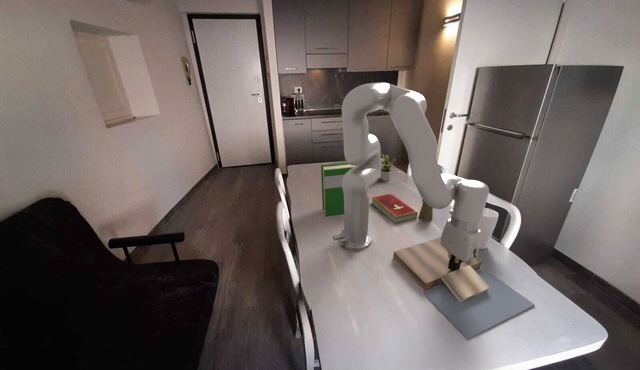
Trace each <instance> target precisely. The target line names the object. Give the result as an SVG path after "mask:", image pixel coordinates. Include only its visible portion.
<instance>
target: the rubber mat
mask: <svg viewBox="0 0 640 370" xmlns="http://www.w3.org/2000/svg"><path fill="white" fill-rule="evenodd" d="M475 272H476V273H477V274H478V275H479V276H480V277H481V278H482V279H483V280H484V281H485V283H486V284H487V285H488V286H489V287H490V288H489V289H488V290H487V291H485V292H483V293H481V294H478V295H476V296H474V297H471V298H469V299H467V300H465V301H462V302H459V301H458V299H457V298H456V297H455V296H454V294H453V293H452V292H451V291H450V289H449V288H448V287H447V285H446V284H445V283H442V284H439V285H437V286H434V287H432V288H429V289H427V290H423V292H422V293H423V295H424V296H426V297H427V299H428V300H430V302H431V303H432V304H433V305H434V306H435V307H436V308H437V309H438V310H439V311H440V312H441V313H442V314H443V316H444V317H446V319H447V320H448V321H449V322H450V323H451V324H452V325H453V326H454V327H455V328H456V329H457V330H458V332H459V333H461V335H463V337H464V338H465V339H466V340H469V339H472V338H473V337H475V336H477V335H480V334H481V333H483V332H486V331H487V330H489V329H491V328H493V327H495V326H497V325H499V324H501V323H504V322H505V321H507V320H509V319H511V318H513V317H514V316H517V315H519V314H521V313H523V312H525V311H527V310H529V309H530V308H533V307H535V304H534V303H533V301H532V302H531V301H530V300H529V299H528V298H527V297H525V296H524V295H522V294H521V293H520V292H518V291H516V289H513V288H512V287H511V286H510V285H508V284H507V283H505V282H504V281H502V280H501V279H500V278H499V277H497V276H495V274H493V273H492V272H490V271H488V269H486V268H484V267H483V268H480V269H478V270H475Z"/></svg>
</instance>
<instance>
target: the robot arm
mask: <svg viewBox="0 0 640 370" xmlns="http://www.w3.org/2000/svg"><path fill="white" fill-rule="evenodd" d="M427 107H428V106H427V100H426V99H425V97H424V96H423V95H422V94H420V93H419V92H416V91H413V90H410V89H407V88H403V87H401V86H397V85H395V84H391V83H388V82H385V81H384V82H383V81H381V82H371V83H370V82H369V83H365V84H361V85H358V86H356V87H354V88H353V89H352V90H350V91H349V92H348V93H347V94H346V95H345V97H344V99H343V102H342V105H341V118H342V129H343V133H342V135H343V153H344V159H345V162H348V164H350V165H352V166H355V167H354V168H352V169H351V170H349V171H348V172H347V173H346V174H345V175H344V177H343V179H342V188H343V193H344V214H343V229H342V230H341V232H340V233H339V234H336V235H333V236H332V239H333V240H332V241H338V243H339V244H341V245H342V246H343V247H345V248H347V249H349V250H355V251H357V250H358V251H360V250H361V251H362V250H364V249H367V248H368V247H369V246H370V245H371V244H372V243H371V242H372V237H371V235H370V233H369V216H370V215H369V214H370V198H369V195H368V194H369V193H368V190H369V189H370V188H371V187H372V186H373V185H374V184H376V183H377V182H378V181H379V179H380V178H381V172H380V169H381V167H382V166H381V164H382V162H381V160H382V159H381V157H382V154H381V153H382V151H381V150H382V149H381V144H380V141H379V139H378V138H377V136H375V135H374V134H372V133H370V132H369V129H370V128H369V127H370V125H369V120H368V118H367V115H368V114H369V113H373V112H376V111H379V110H382V111H385V112H388V113H389V115H390V118H391V121H392V123H393V125H394V127H395V129H396V131H397V133H398V135H399V138H400V140H401V141H402V143H403V145H404V147H405V149H406V152H407V155H408V162H409V163H408V164H409V168H410V172H411V177H412V179H413V183H414V184H415V187H416V189H417V191H418V193H419V195H420V197H421V200H422V199H423V200H424V201H425V203H426V204H427V205H428V206H430V207H432V208H433V209H435V210H442V209H446V208H447V207H448V206H450V205H451V203H452V202H454V203H453V206H452V209H450V210H449V214H450V215H451V216H450V218H449V219H447V221H446V223H445V225H444V227H443V230H442V233H441V236H440V237H441V240H440V244H441V245H442V246H443V247H444V248H445V249H446V250H447V251H448V257H449V258H450V259H449V265H448V269H450V270H451V271H452V272H453V271H455V270H458V269H460V265H461V262H465V263H466V264H468V265H472V264H474V258H477V256H478V253H479V250H480V249H479V244H480V230H479V226H480V223H481V219H482V215H483V212H484V208H486V203H487V200H488V198H489V197H488V196H489V192H490V188H489V186H488V185H487V184H486V183H485V182H482V181H479V180H477V179H476V180H475V179H465V178H462V177H459V176H458V175H457V176H456V175H455V174H450V173H446V172H445V173H444V172H443V173H441V172H440V168H439V164H438V159H437V158H438V157H437V153H438V141H437V138H436V135H435V133H434V131H433V129H432V128H431V125H430V123H429V121H428V119H427V117H426V114H425V113H426V111H427Z"/></svg>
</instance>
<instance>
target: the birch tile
mask: <svg viewBox="0 0 640 370" xmlns="http://www.w3.org/2000/svg"><path fill="white" fill-rule="evenodd" d="M475 271H476V270H474V269H473V268H472V267H471V266H470V265H469V266H466V267H463V268H461V269H458V270H456V271H453V272H450V273H448V274H445V275H443V276H442V278H441V279H442V280H443V282H444V283H445V284H446V285H447V287H448V288H449V289H450V291H451V292H452V293H453V294H454V296H455V297H456V298H457V299H458V301H459V302H462V301H465V300H467V299H469V298H471V297H474V296H476V295H478V294H481V293H483V292H485V291H487V290H488V289H489V288H490V287H489V286H488V285H487V284H486V283H485V281H484V280H483V279H482V278H481V277H480V276H479V275H478V274H477V273H476V272H475ZM444 283H443V284H444Z"/></svg>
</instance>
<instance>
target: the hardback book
mask: <svg viewBox="0 0 640 370" xmlns="http://www.w3.org/2000/svg"><path fill="white" fill-rule="evenodd" d="M354 167H355V166H352V165H350V164H348V162H347V161H345V162H338V163H328V164H320V172H321V173H320V176H321V177H320V178H321V200H322V203H321V204H322V205H321V206H322V207H321V208H322V211H324V217H327V218H328V217H334V216H344V193H343V188H342V179H343V177H344V175H345V174H346V173H347V172H348V171H349V170H351V169H352V168H354Z"/></svg>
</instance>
